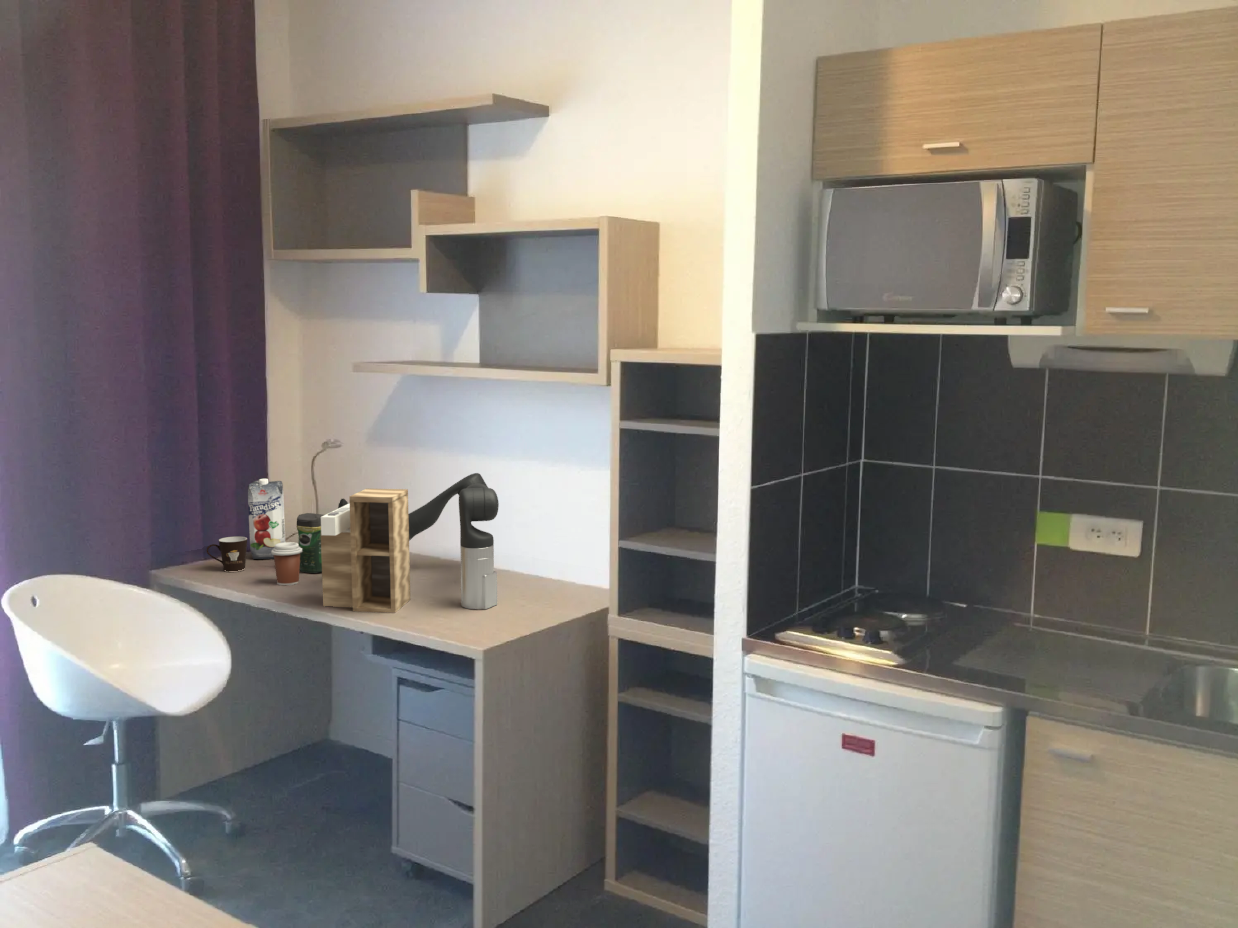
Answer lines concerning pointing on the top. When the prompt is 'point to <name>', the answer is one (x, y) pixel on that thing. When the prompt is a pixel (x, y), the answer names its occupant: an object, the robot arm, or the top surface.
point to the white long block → (336, 521)
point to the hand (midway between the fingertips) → (356, 501)
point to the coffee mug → (232, 552)
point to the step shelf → (369, 554)
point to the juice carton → (265, 517)
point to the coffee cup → (287, 562)
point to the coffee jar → (310, 542)
